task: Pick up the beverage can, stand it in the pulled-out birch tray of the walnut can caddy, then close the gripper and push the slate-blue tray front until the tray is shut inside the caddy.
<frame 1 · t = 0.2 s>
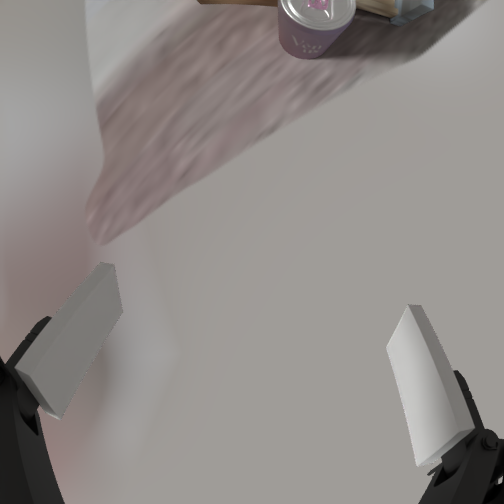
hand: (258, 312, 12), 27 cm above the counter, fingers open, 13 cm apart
beverage can: (303, 38, 28), on the counter
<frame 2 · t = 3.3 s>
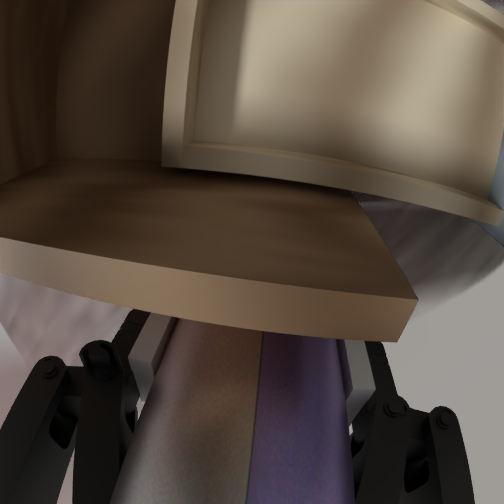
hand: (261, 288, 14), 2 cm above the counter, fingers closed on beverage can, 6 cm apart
beverage can: (264, 265, 16), on the counter, touching gripper
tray: (427, 63, 6), point 5 cm above the counter, slide at 7.0 cm
caddy: (180, 50, 11), on the counter
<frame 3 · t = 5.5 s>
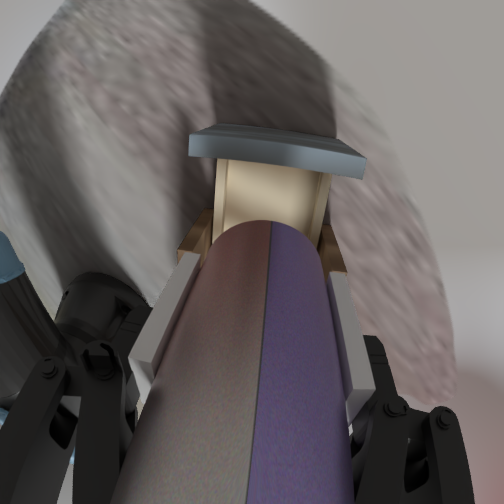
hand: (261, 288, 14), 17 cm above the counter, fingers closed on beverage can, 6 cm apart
beverage can: (264, 265, 16), point 14 cm above the counter, touching gripper
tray: (266, 230, 25), point 5 cm above the counter, slide at 7.0 cm
caddy: (258, 281, 34), on the counter
when the fingers open (5 cm above the counter, at t = 7.9 s): beverage can stays where it is, resting on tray.
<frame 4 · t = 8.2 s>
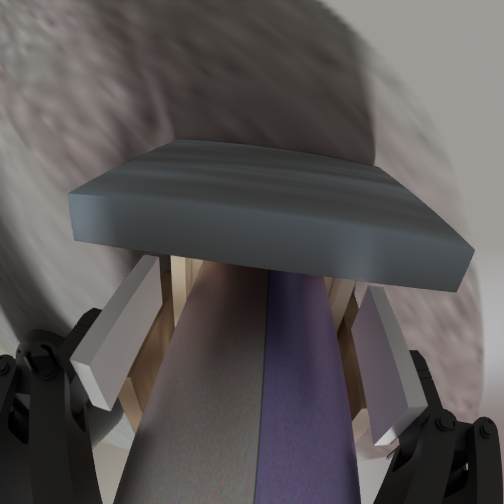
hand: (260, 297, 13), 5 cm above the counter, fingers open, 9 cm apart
beverage can: (263, 256, 17), point 2 cm above the counter, touching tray
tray: (255, 330, 15), point 5 cm above the counter, slide at 7.0 cm, touching beverage can
caddy: (248, 362, 23), on the counter
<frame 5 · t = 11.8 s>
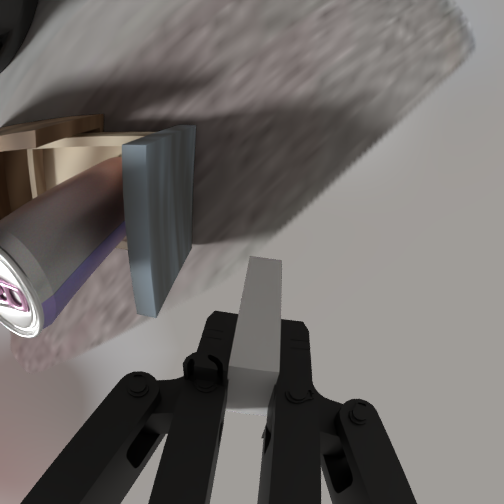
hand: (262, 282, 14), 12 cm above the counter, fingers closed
beverage can: (124, 188, 23), point 2 cm above the counter, touching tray
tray: (81, 202, 20), point 5 cm above the counter, slide at 7.0 cm, touching beverage can
caddy: (46, 180, 25), on the counter
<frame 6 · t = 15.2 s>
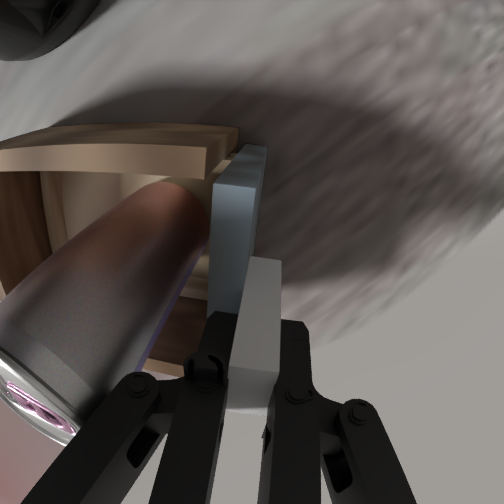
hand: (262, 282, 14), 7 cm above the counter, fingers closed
beverage can: (170, 220, 20), point 2 cm above the counter, touching hand, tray
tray: (118, 240, 17), point 5 cm above the counter, slide at 0.1 cm, touching beverage can
caddy: (128, 207, 21), on the counter
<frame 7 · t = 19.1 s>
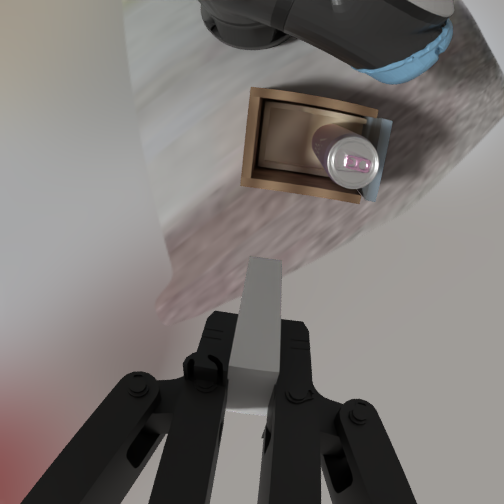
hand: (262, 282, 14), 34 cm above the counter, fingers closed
beverage can: (330, 142, 41), point 2 cm above the counter, touching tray
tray: (319, 144, 38), point 5 cm above the counter, slide at 0.0 cm, touching beverage can
caddy: (303, 137, 43), on the counter
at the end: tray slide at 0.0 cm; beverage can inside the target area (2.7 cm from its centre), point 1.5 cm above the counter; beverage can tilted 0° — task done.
